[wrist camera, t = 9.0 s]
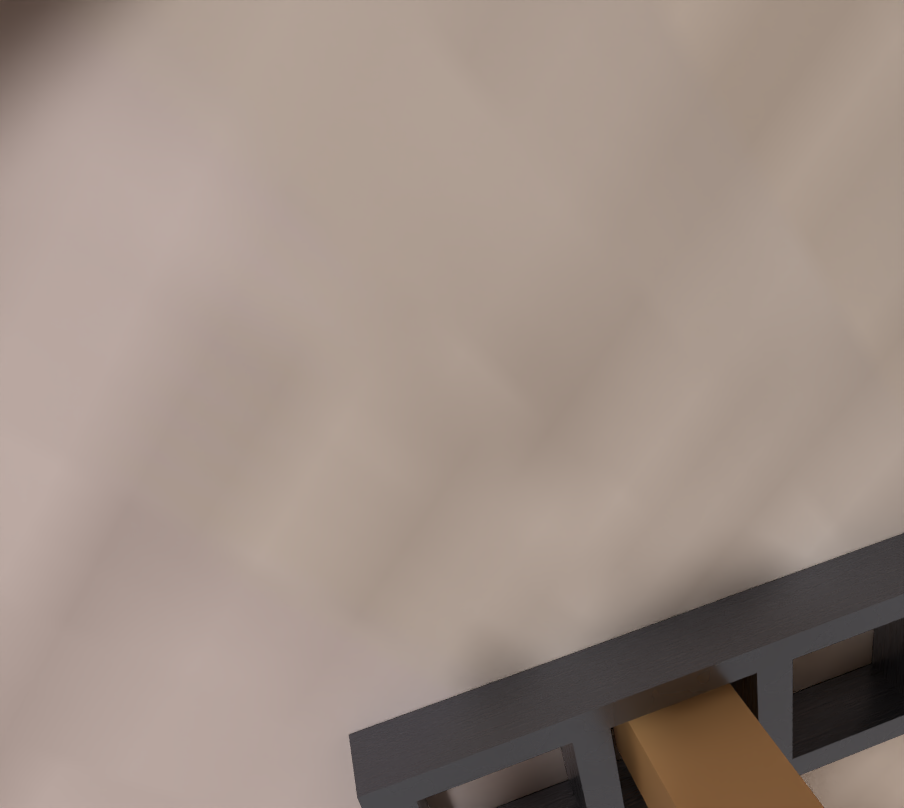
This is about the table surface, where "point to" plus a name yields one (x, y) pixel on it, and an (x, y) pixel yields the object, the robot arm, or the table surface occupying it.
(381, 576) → the table surface
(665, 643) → the rail
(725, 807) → the orange peg
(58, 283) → the table surface
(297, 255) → the table surface
